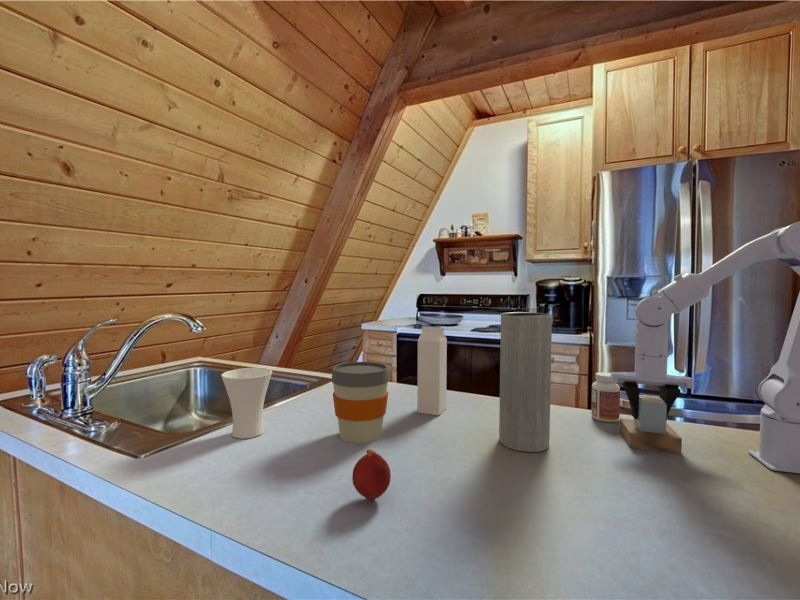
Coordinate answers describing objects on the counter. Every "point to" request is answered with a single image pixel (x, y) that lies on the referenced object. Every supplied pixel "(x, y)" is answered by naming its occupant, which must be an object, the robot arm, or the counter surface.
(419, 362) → the milk
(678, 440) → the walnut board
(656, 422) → the blue block cream face
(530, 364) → the vase
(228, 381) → the cup
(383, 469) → the onion
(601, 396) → the pill bottle
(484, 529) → the counter surface
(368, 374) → the reusable coffee cup
